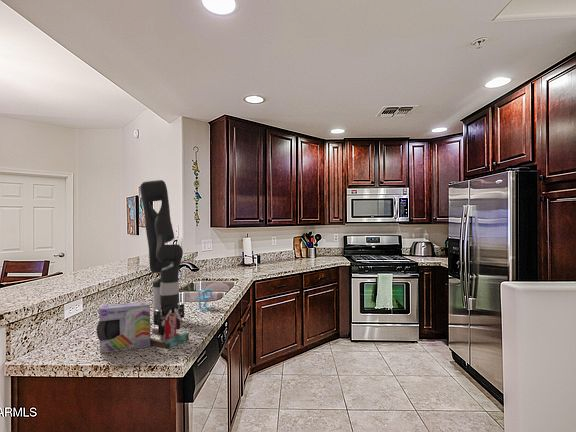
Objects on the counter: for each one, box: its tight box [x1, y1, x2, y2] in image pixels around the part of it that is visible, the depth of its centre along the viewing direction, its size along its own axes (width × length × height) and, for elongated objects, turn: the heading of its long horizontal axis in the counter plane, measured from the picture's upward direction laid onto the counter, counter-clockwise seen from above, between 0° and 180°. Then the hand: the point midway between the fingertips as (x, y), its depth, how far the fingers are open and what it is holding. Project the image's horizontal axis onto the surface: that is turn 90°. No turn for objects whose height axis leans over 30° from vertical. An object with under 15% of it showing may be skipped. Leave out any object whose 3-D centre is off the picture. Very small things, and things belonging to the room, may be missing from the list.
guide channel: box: [150, 327, 190, 350], centre depth 147 cm, size 11×21×3 cm, turn 61°
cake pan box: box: [96, 301, 152, 353], centre depth 137 cm, size 19×5×18 cm, turn 110°
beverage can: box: [159, 313, 177, 341], centre depth 143 cm, size 6×6×12 cm
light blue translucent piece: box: [196, 288, 215, 312], centre depth 198 cm, size 8×8×12 cm
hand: (169, 331), depth 144 cm, fingers open, 8 cm apart
